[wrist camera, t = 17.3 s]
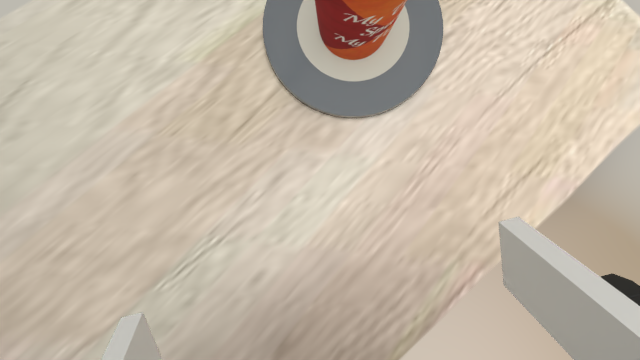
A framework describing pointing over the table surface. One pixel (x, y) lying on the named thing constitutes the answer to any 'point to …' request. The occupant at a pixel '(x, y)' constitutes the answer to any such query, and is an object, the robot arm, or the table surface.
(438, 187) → the table surface
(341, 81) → the saucer
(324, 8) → the coffee cup
